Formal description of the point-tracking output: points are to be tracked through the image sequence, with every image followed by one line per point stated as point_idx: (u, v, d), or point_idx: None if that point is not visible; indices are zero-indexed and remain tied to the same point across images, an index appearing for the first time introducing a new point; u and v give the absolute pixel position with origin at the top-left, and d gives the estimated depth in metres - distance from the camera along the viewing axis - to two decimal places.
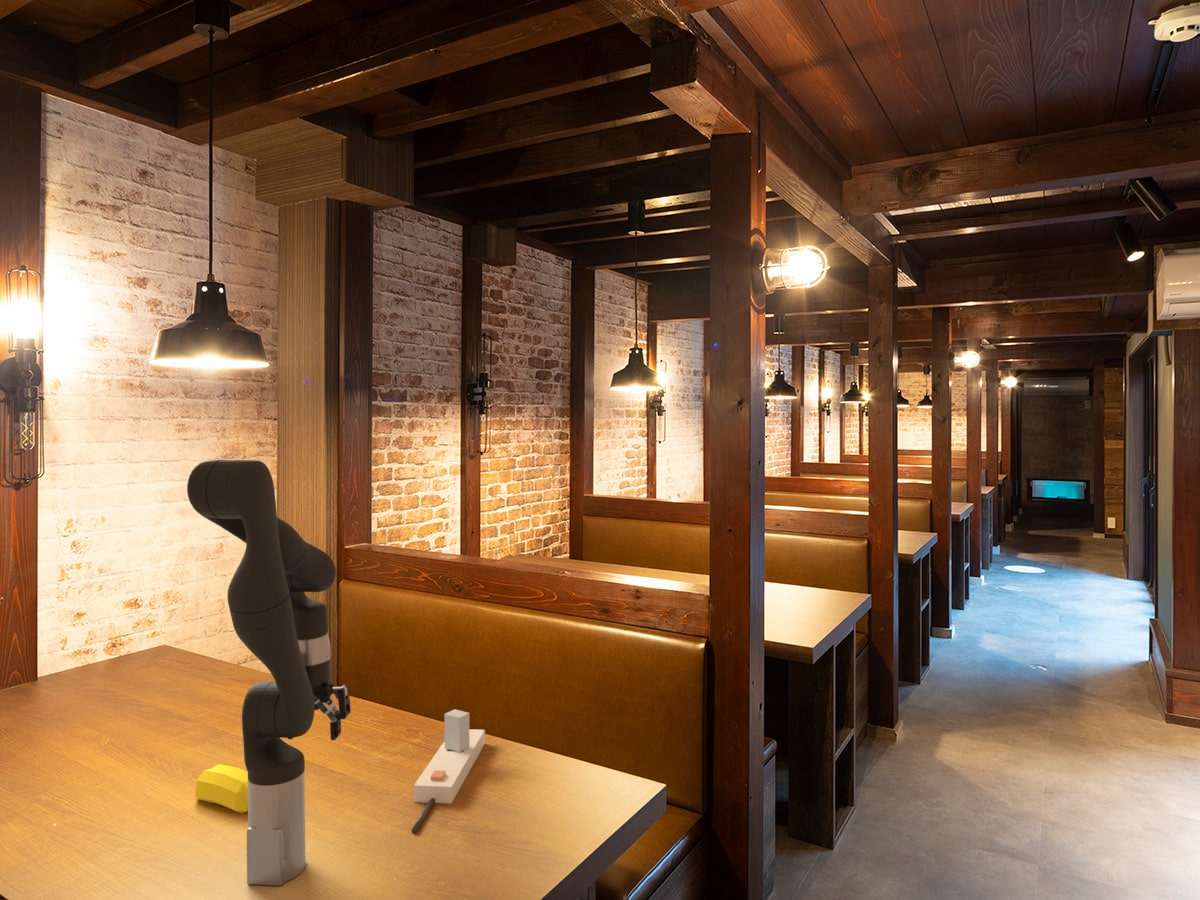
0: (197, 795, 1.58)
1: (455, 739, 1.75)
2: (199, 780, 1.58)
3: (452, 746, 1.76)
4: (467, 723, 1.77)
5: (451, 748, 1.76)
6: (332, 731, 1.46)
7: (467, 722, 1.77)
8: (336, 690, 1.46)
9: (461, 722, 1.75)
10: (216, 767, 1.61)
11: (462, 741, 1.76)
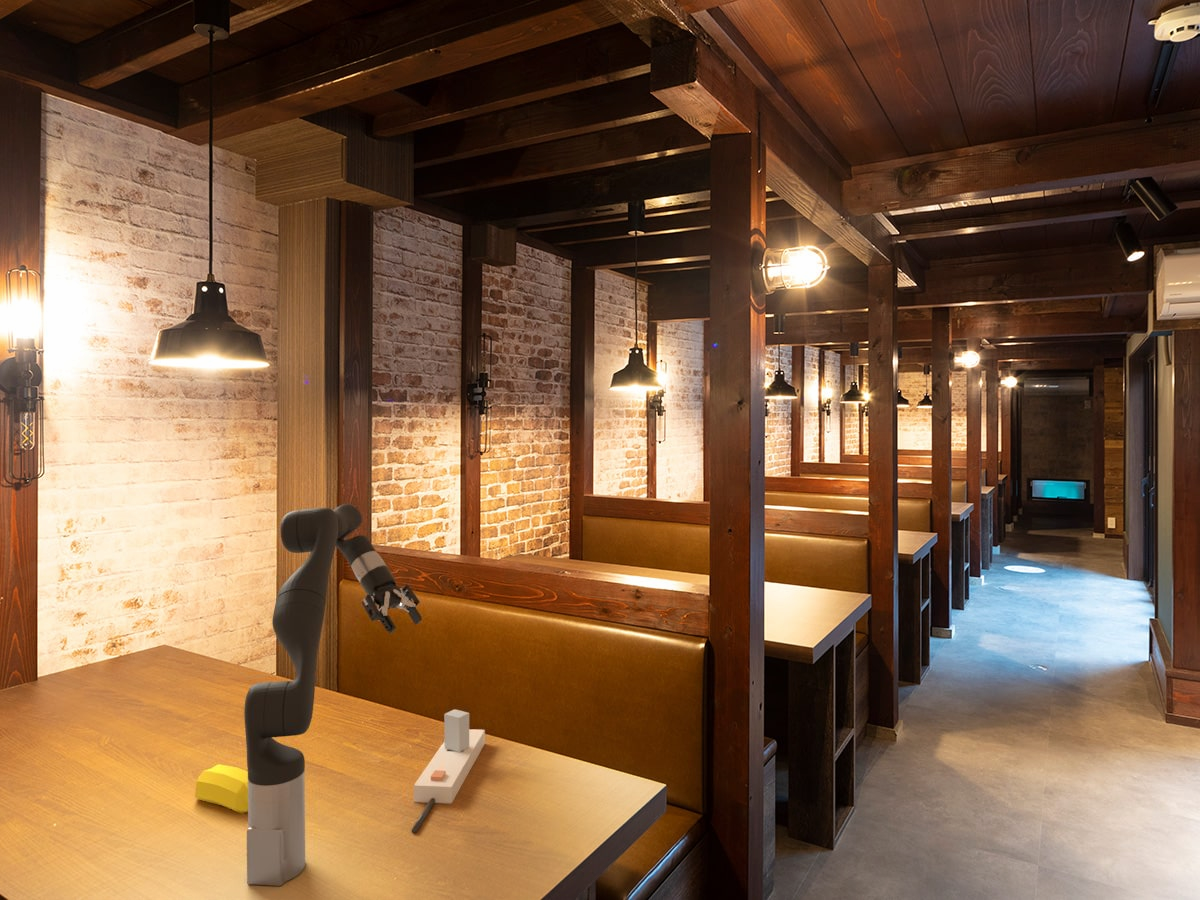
0: (197, 795, 1.58)
1: (455, 739, 1.75)
2: (199, 780, 1.58)
3: (452, 746, 1.76)
4: (467, 723, 1.77)
5: (451, 748, 1.76)
6: (417, 613, 1.89)
7: (467, 722, 1.77)
8: (402, 588, 1.92)
9: (461, 722, 1.75)
10: (216, 767, 1.61)
11: (462, 740, 1.76)
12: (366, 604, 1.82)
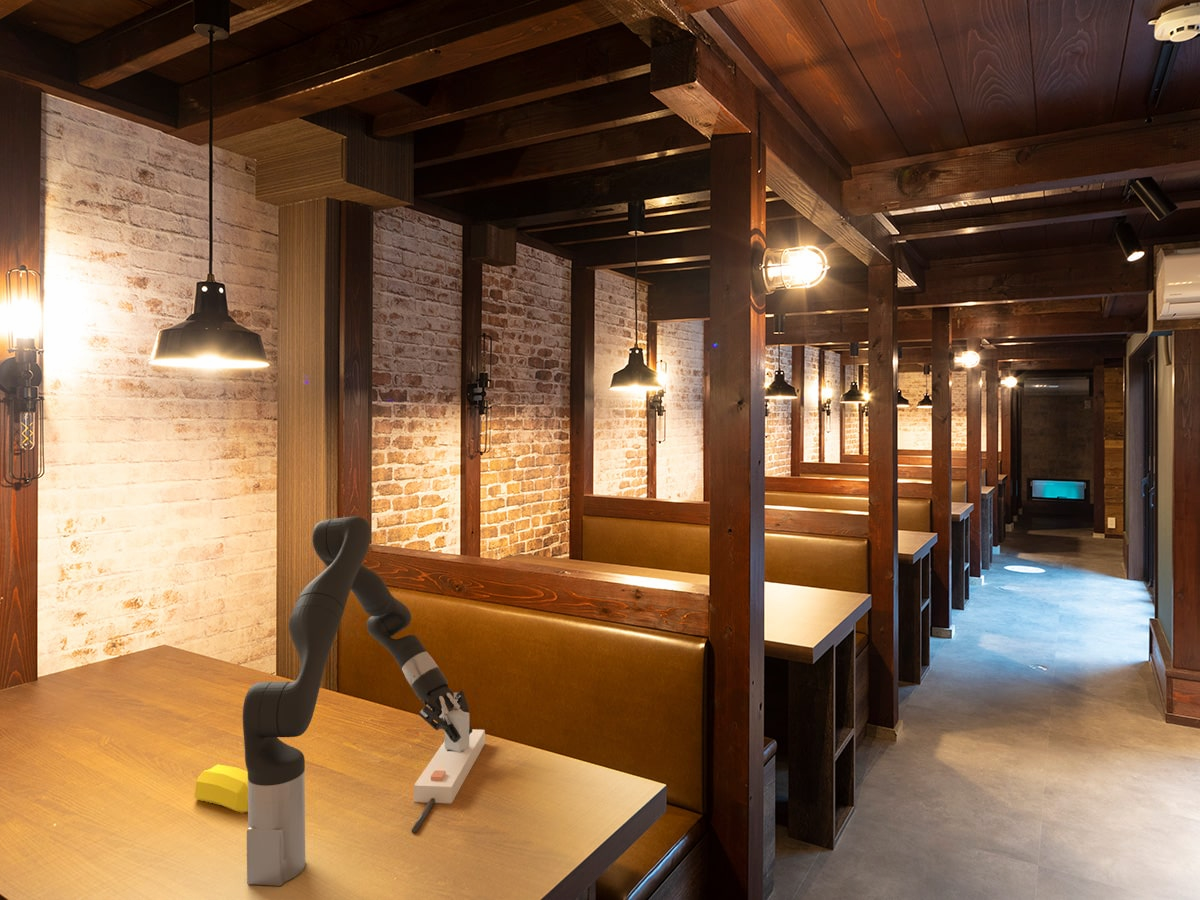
0: (196, 796, 1.57)
1: None
2: (198, 781, 1.58)
3: (452, 746, 1.76)
4: (467, 723, 1.77)
5: (451, 748, 1.76)
6: None
7: (467, 722, 1.77)
8: (456, 693, 1.84)
9: (461, 722, 1.75)
10: (215, 767, 1.61)
11: (462, 741, 1.76)
12: (426, 716, 1.74)
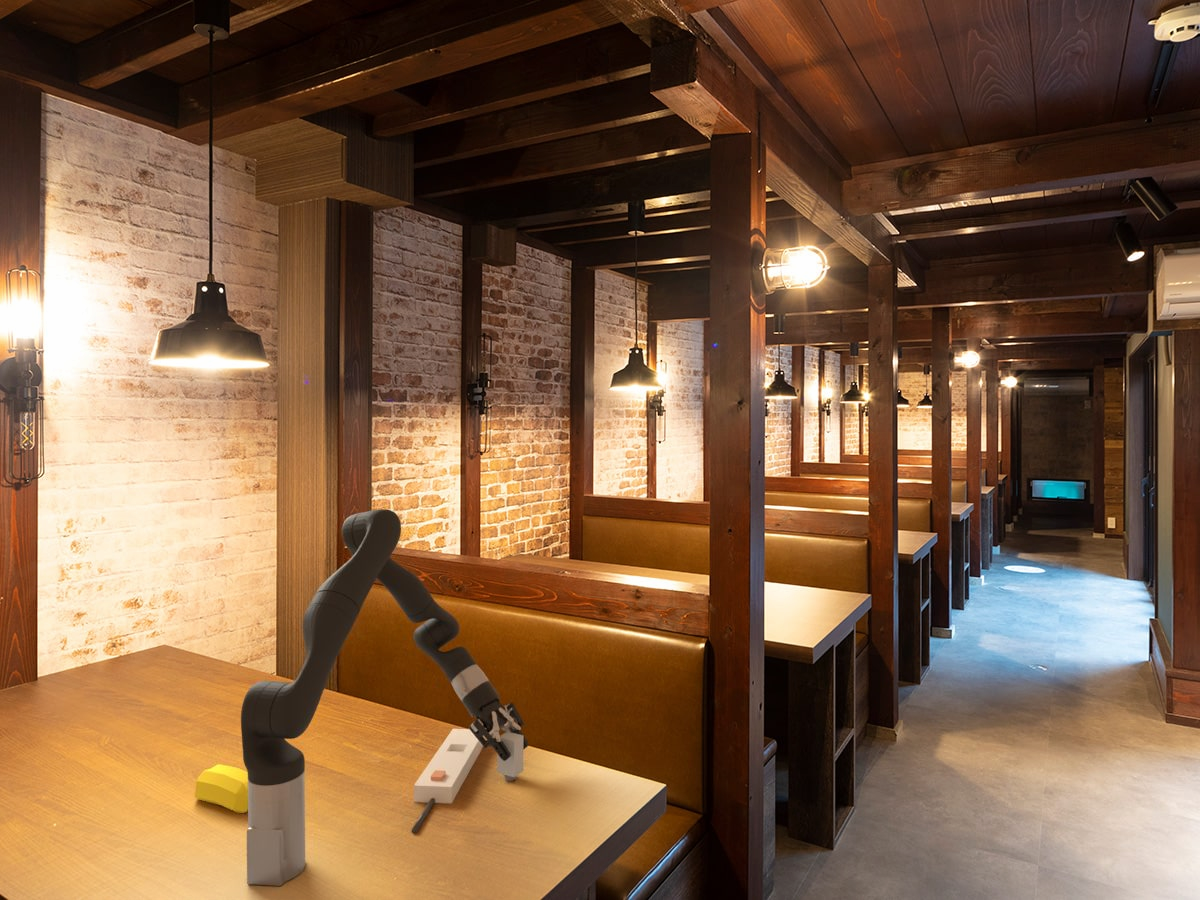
0: (197, 795, 1.58)
1: (510, 764, 1.67)
2: (198, 780, 1.58)
3: (506, 771, 1.68)
4: (521, 746, 1.69)
5: (505, 773, 1.68)
6: (523, 737, 1.71)
7: (521, 745, 1.69)
8: (506, 706, 1.76)
9: (516, 745, 1.67)
10: (216, 767, 1.61)
11: (517, 765, 1.68)
12: (476, 731, 1.65)
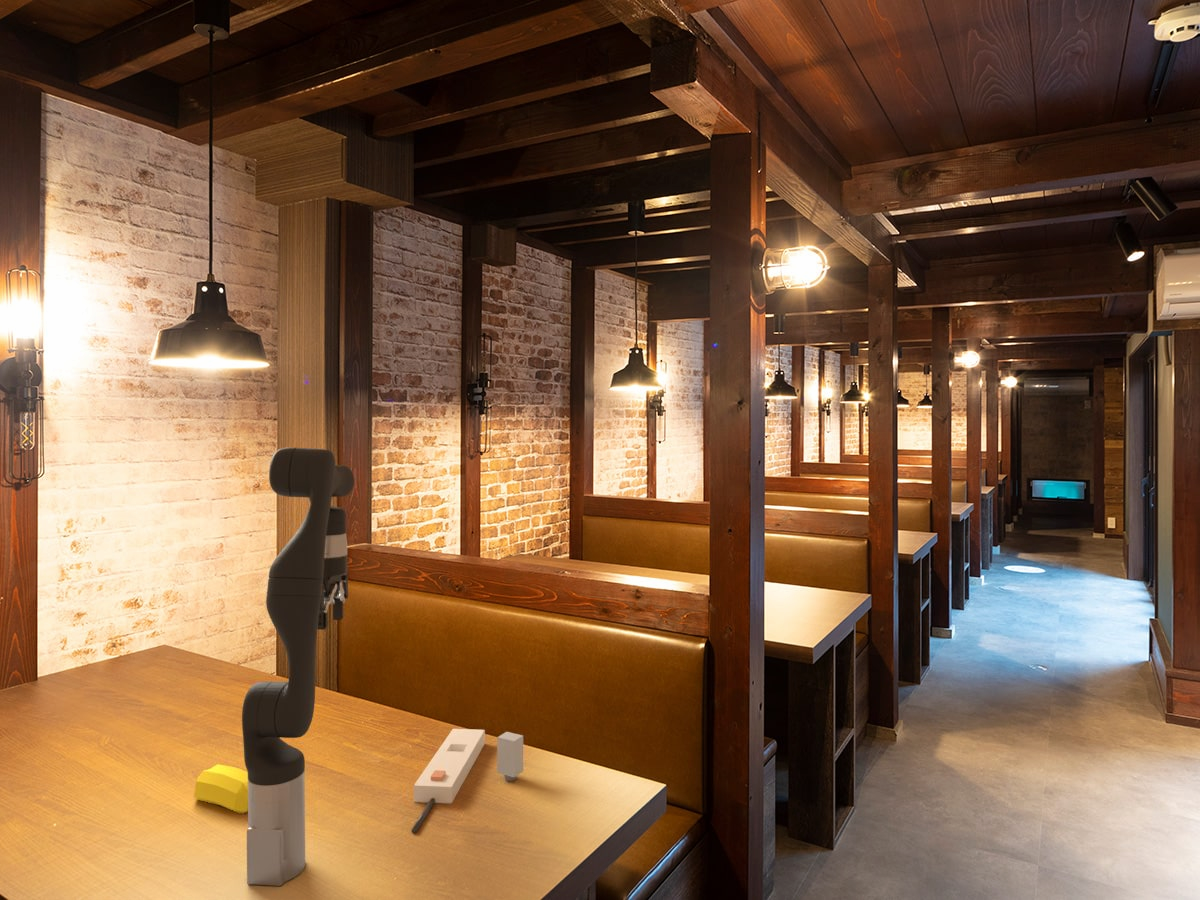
0: (196, 795, 1.57)
1: (510, 764, 1.67)
2: (198, 780, 1.58)
3: (506, 771, 1.68)
4: (521, 746, 1.69)
5: (505, 773, 1.68)
6: (342, 611, 1.78)
7: (521, 745, 1.69)
8: (341, 577, 1.78)
9: (516, 746, 1.67)
10: (215, 767, 1.61)
11: (517, 765, 1.68)
12: None
